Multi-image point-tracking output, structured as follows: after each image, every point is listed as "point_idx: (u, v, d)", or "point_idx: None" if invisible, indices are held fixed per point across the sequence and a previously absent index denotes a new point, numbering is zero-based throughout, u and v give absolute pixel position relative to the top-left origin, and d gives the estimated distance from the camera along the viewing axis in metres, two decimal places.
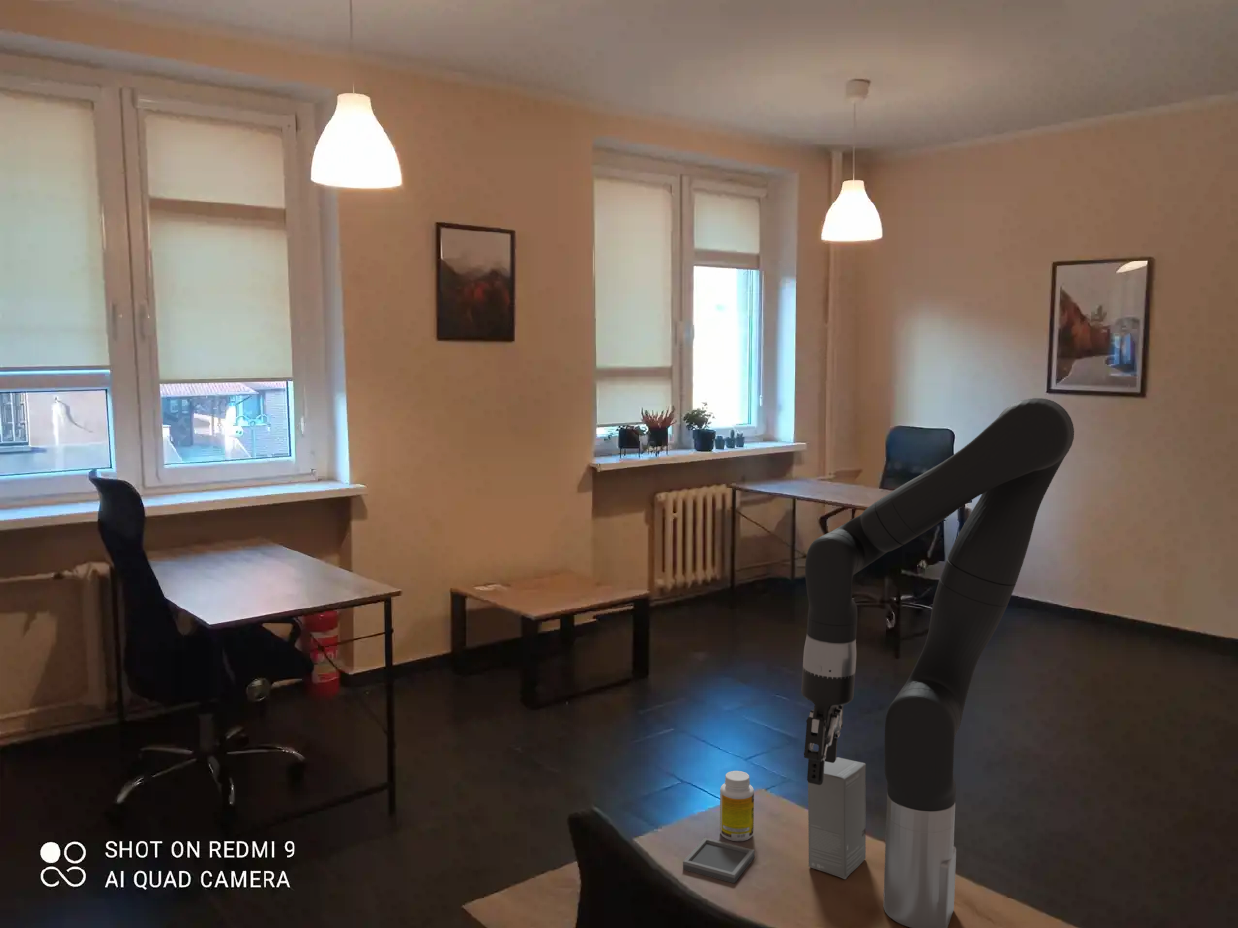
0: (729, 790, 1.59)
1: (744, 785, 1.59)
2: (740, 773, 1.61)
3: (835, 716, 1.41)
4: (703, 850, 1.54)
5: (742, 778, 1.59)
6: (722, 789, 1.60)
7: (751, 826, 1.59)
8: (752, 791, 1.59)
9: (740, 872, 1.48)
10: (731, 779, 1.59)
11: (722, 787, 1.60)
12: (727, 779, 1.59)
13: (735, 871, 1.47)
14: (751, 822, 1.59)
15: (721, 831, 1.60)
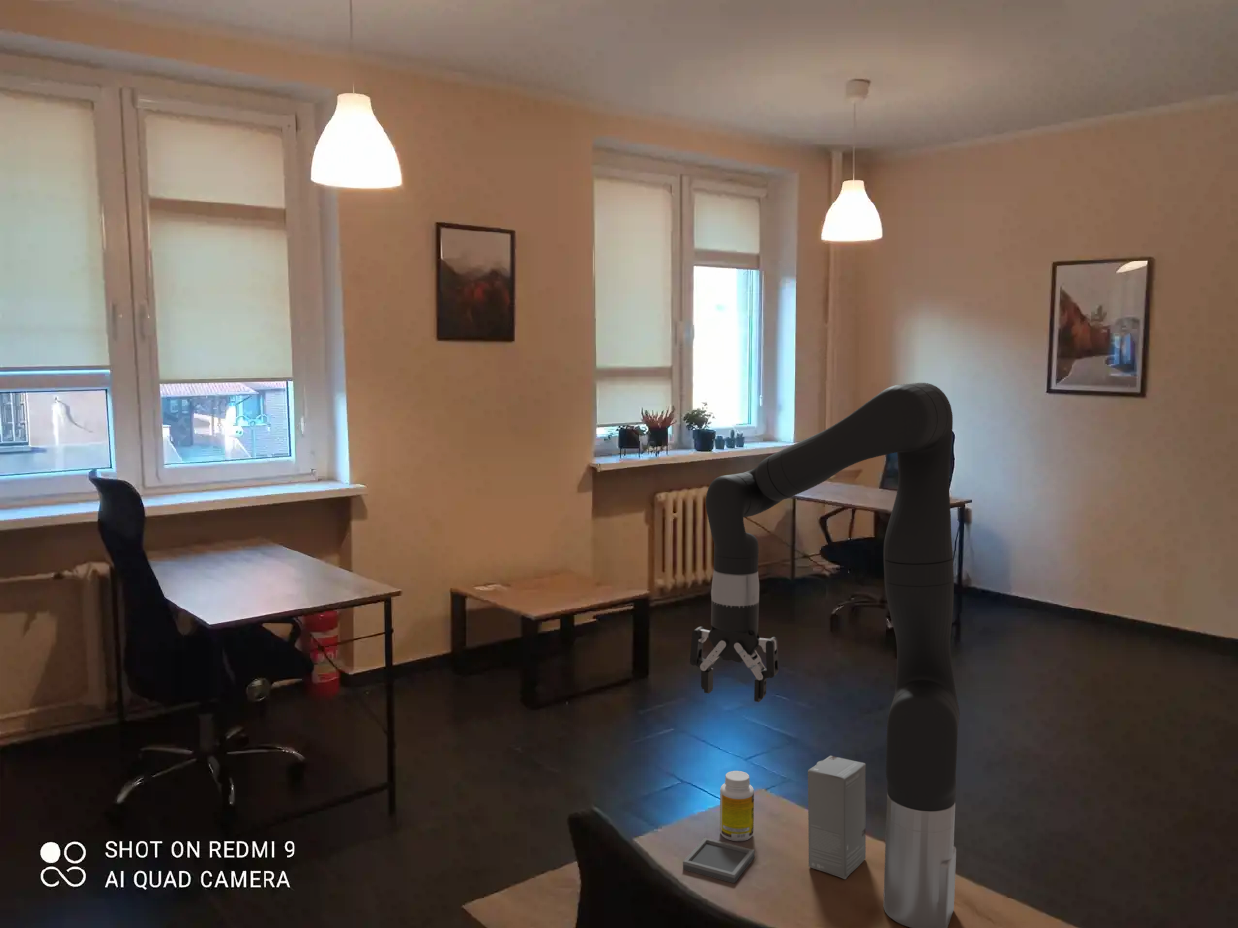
0: (729, 790, 1.59)
1: (744, 785, 1.59)
2: (740, 773, 1.61)
3: None
4: (703, 850, 1.54)
5: (742, 778, 1.59)
6: (722, 789, 1.60)
7: (751, 826, 1.59)
8: (752, 791, 1.59)
9: (740, 872, 1.48)
10: (731, 779, 1.59)
11: (722, 787, 1.60)
12: (727, 779, 1.59)
13: (735, 871, 1.47)
14: (751, 822, 1.59)
15: (721, 831, 1.60)
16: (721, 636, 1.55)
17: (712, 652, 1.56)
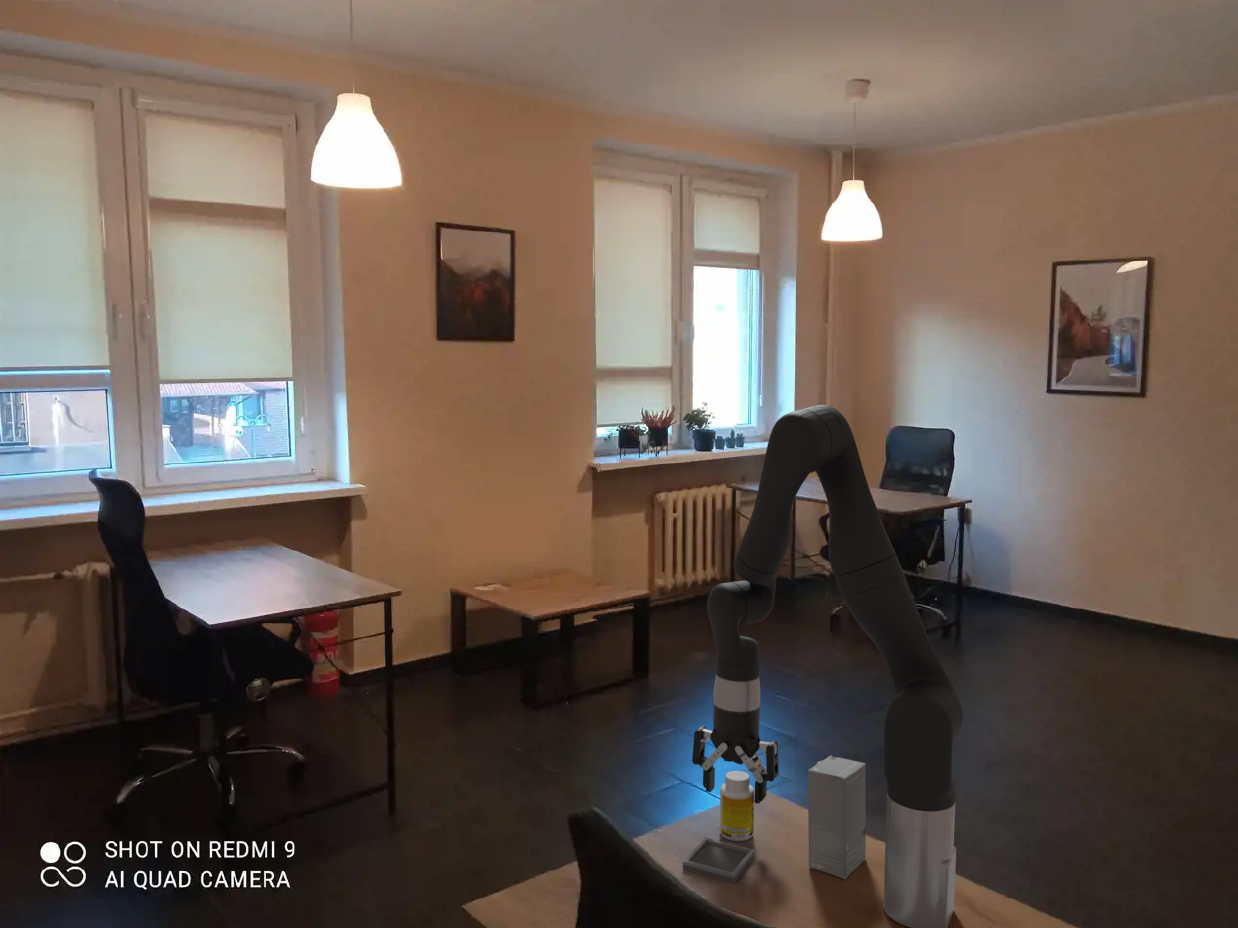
0: (729, 790, 1.59)
1: (744, 785, 1.59)
2: (740, 773, 1.61)
3: None
4: (703, 850, 1.54)
5: (742, 778, 1.59)
6: (722, 789, 1.60)
7: (751, 826, 1.59)
8: (752, 791, 1.59)
9: (740, 872, 1.48)
10: (731, 779, 1.59)
11: (722, 787, 1.60)
12: (727, 779, 1.59)
13: (735, 871, 1.47)
14: (751, 822, 1.59)
15: (721, 831, 1.60)
16: (723, 738, 1.59)
17: (714, 753, 1.59)
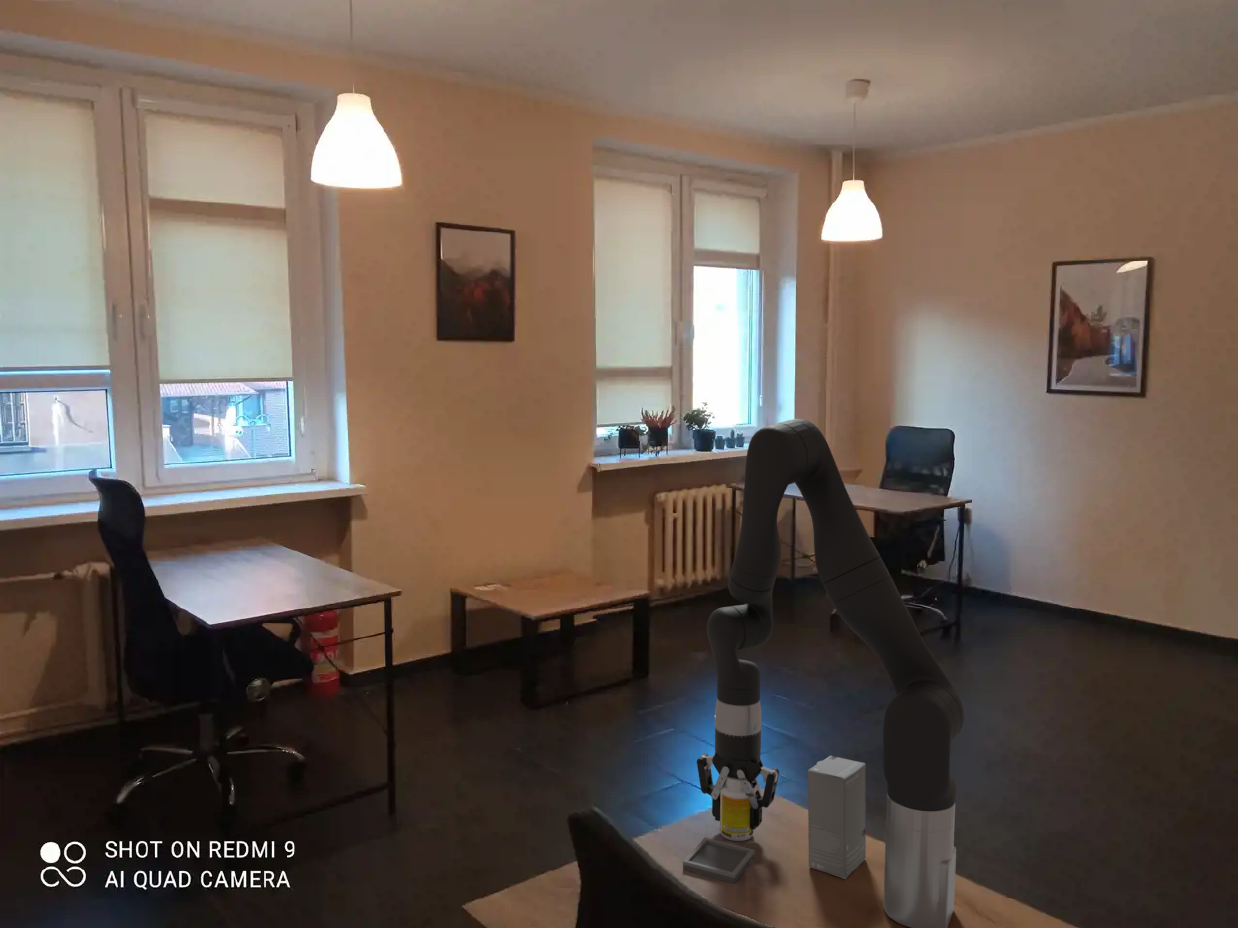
0: (729, 790, 1.59)
1: None
2: None
3: None
4: (703, 850, 1.54)
5: None
6: (722, 789, 1.60)
7: None
8: None
9: (740, 872, 1.48)
10: (731, 779, 1.59)
11: (722, 787, 1.60)
12: (727, 779, 1.59)
13: (735, 871, 1.47)
14: None
15: (721, 831, 1.60)
16: (724, 761, 1.60)
17: (718, 779, 1.60)
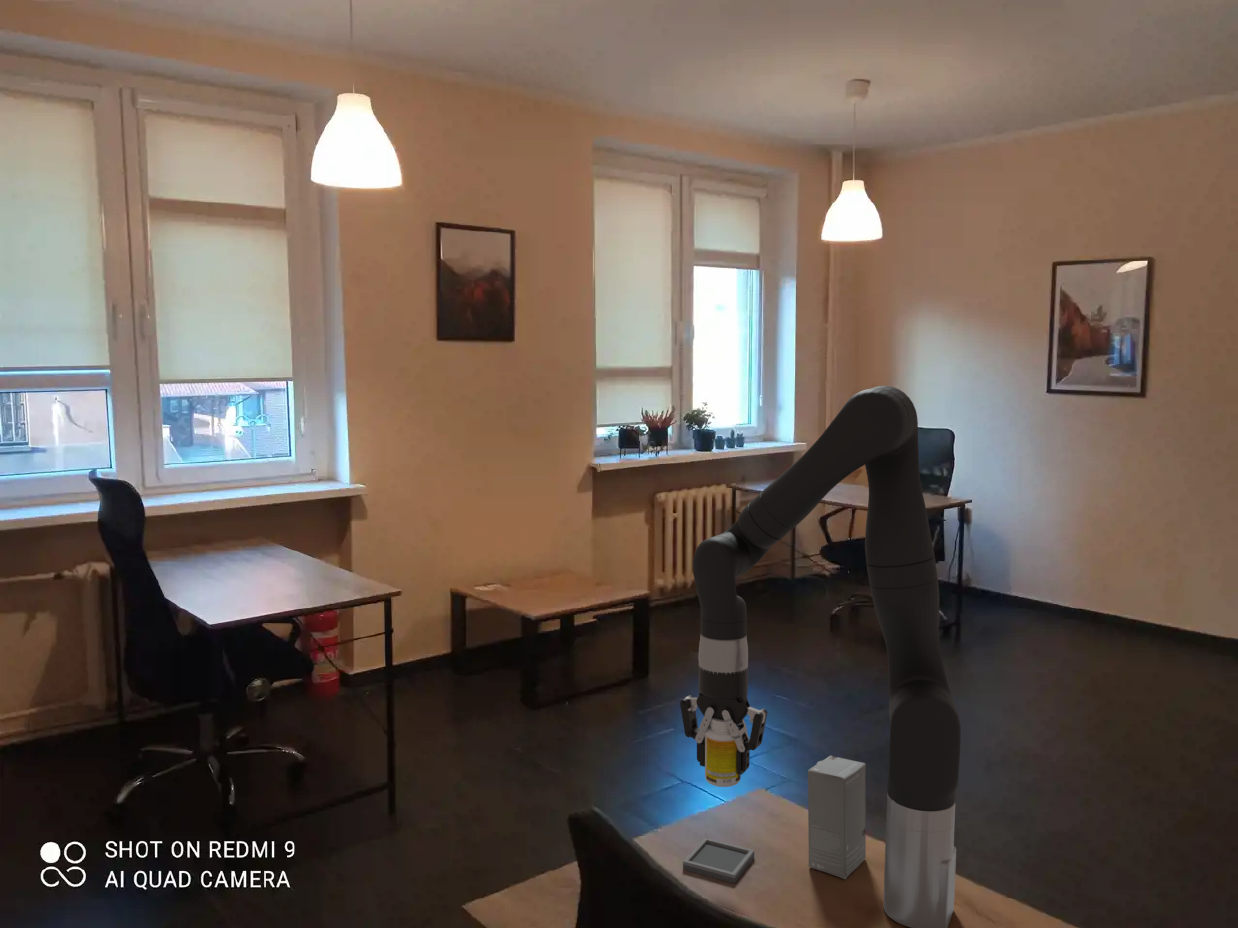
0: (714, 732, 1.49)
1: None
2: None
3: None
4: (703, 850, 1.54)
5: None
6: (707, 731, 1.50)
7: None
8: None
9: (740, 872, 1.48)
10: (716, 720, 1.49)
11: (707, 730, 1.50)
12: (712, 721, 1.49)
13: (735, 871, 1.47)
14: None
15: (706, 777, 1.50)
16: (709, 702, 1.50)
17: (703, 721, 1.50)
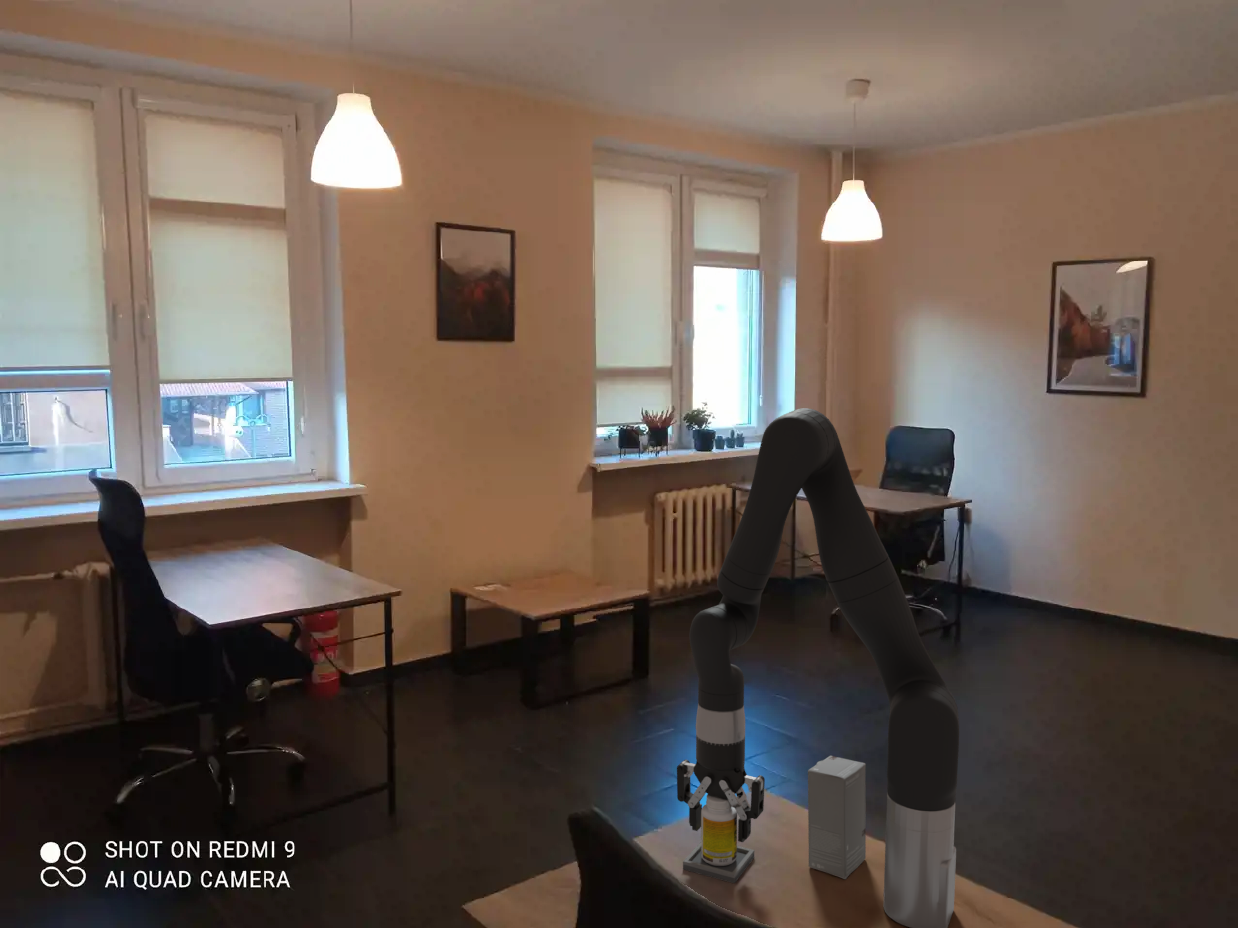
0: (710, 812, 1.50)
1: (726, 806, 1.49)
2: None
3: None
4: None
5: (724, 800, 1.49)
6: (703, 811, 1.50)
7: (734, 850, 1.50)
8: (735, 813, 1.50)
9: (740, 872, 1.48)
10: (712, 800, 1.49)
11: (703, 808, 1.51)
12: (708, 800, 1.50)
13: (735, 871, 1.47)
14: (734, 846, 1.50)
15: (702, 855, 1.51)
16: (706, 771, 1.50)
17: (698, 789, 1.51)
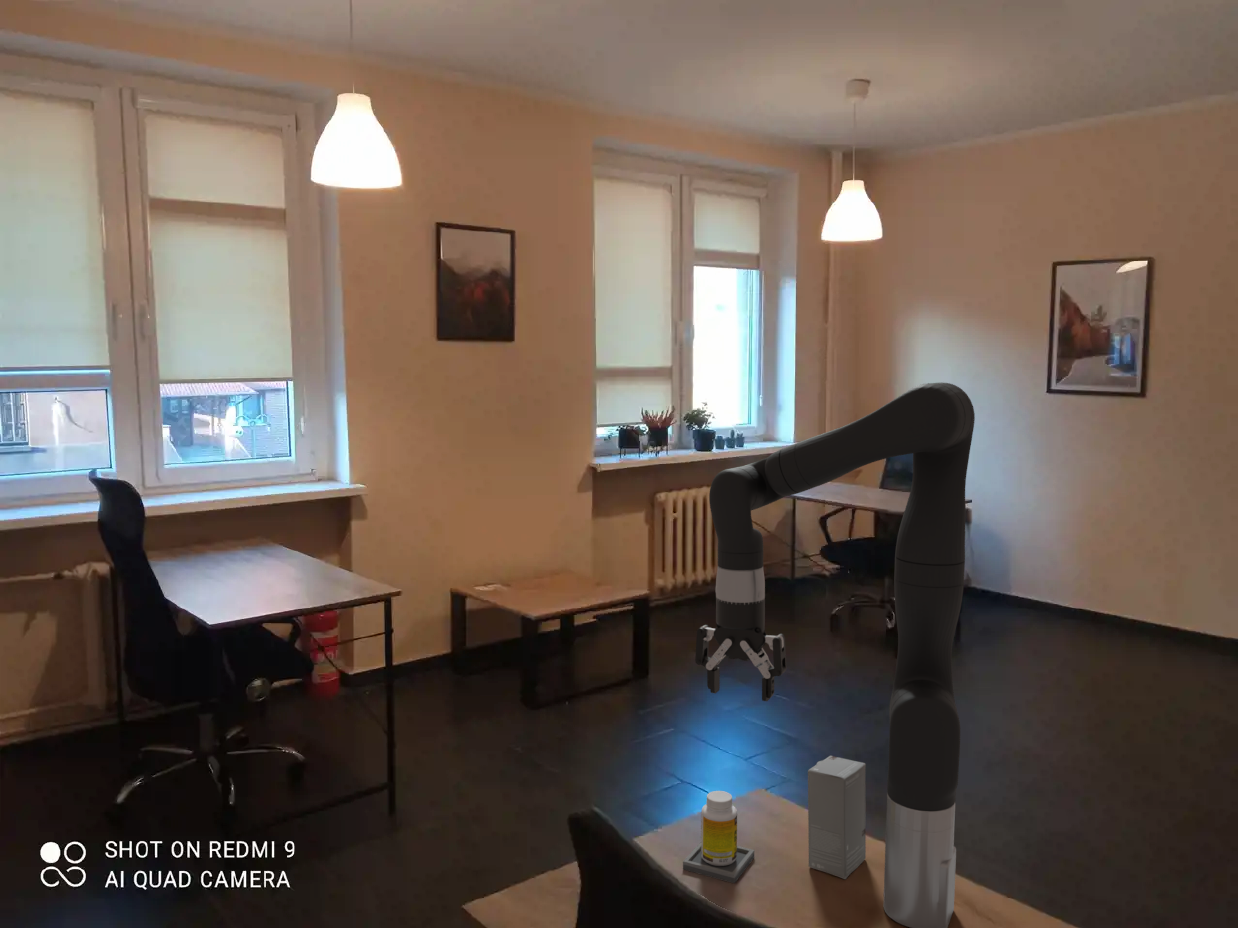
0: (710, 812, 1.50)
1: (727, 806, 1.49)
2: (723, 793, 1.52)
3: None
4: None
5: (724, 799, 1.49)
6: (703, 810, 1.50)
7: (734, 850, 1.50)
8: (735, 813, 1.50)
9: (740, 872, 1.48)
10: (713, 800, 1.49)
11: (703, 808, 1.51)
12: (708, 800, 1.50)
13: (735, 871, 1.47)
14: (734, 846, 1.50)
15: (702, 855, 1.51)
16: (727, 634, 1.51)
17: (718, 651, 1.52)
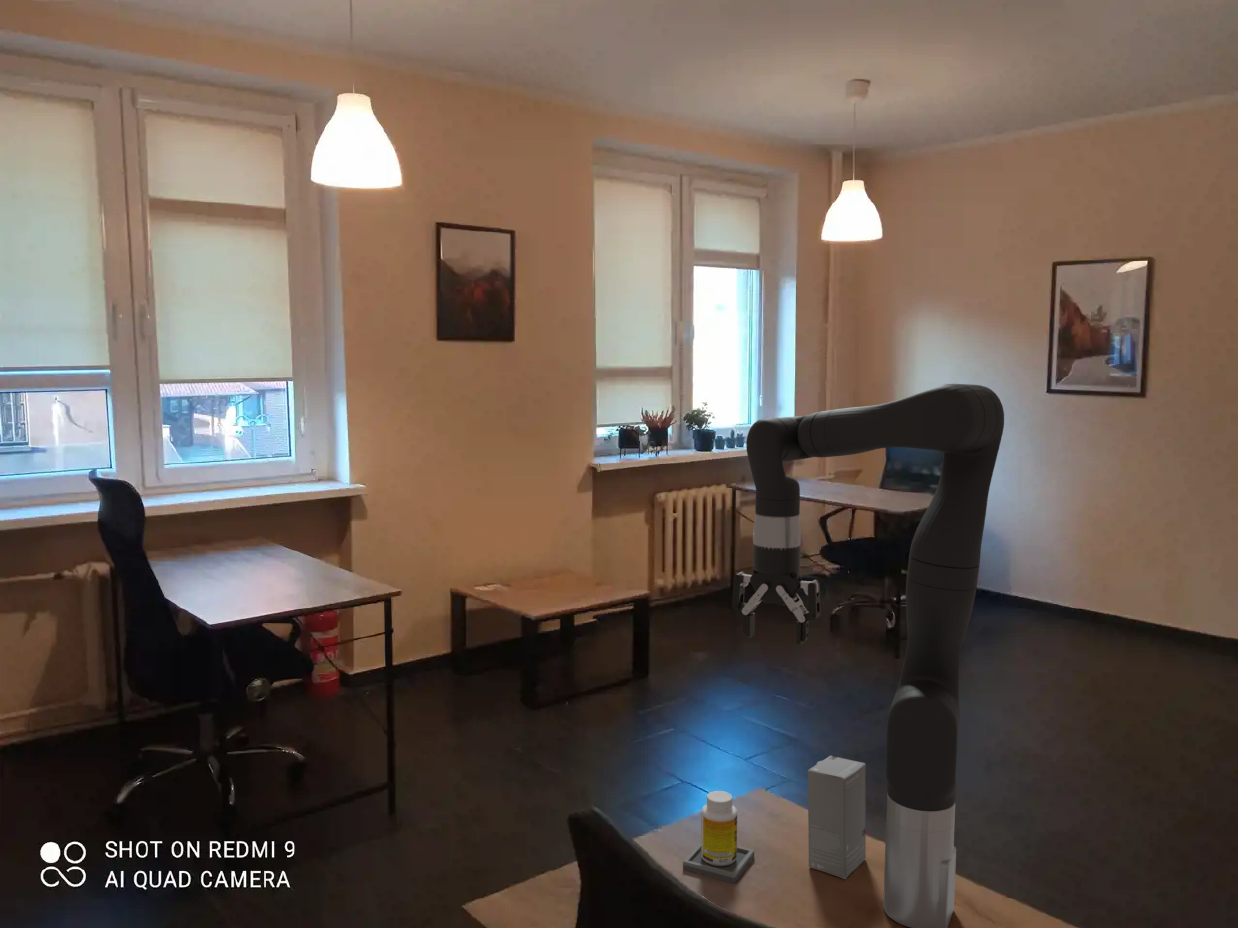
0: (710, 812, 1.50)
1: (727, 806, 1.49)
2: (723, 793, 1.52)
3: None
4: None
5: (724, 800, 1.49)
6: (703, 811, 1.50)
7: (734, 850, 1.50)
8: (735, 813, 1.50)
9: (740, 872, 1.48)
10: (713, 800, 1.49)
11: (703, 808, 1.51)
12: (708, 800, 1.50)
13: (735, 871, 1.47)
14: (734, 846, 1.50)
15: (702, 855, 1.51)
16: (763, 580, 1.57)
17: (754, 596, 1.57)
